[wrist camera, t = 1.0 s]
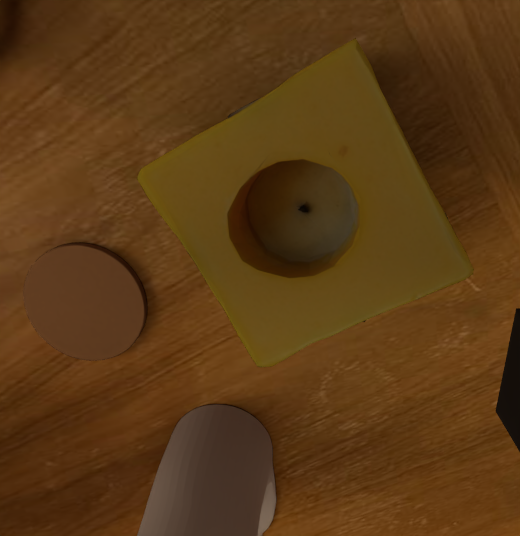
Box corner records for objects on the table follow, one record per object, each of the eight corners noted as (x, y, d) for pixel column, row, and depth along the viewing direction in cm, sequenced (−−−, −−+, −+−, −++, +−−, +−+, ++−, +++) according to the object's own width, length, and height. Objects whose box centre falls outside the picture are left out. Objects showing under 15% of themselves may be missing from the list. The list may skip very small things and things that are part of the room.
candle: (428, 218, 29) (487, 276, 19) (275, 295, 31) (261, 381, 22) (346, 52, 26) (367, 26, 17) (188, 149, 29) (128, 174, 19)
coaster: (19, 240, 31) (14, 243, 31) (143, 244, 31) (140, 247, 30) (36, 353, 34) (32, 357, 33) (151, 359, 33) (148, 364, 33)
